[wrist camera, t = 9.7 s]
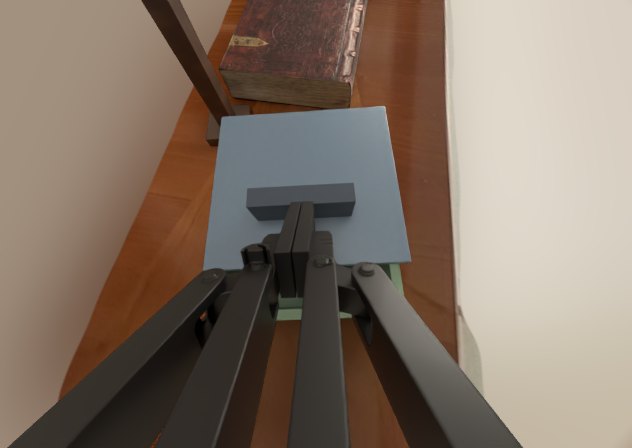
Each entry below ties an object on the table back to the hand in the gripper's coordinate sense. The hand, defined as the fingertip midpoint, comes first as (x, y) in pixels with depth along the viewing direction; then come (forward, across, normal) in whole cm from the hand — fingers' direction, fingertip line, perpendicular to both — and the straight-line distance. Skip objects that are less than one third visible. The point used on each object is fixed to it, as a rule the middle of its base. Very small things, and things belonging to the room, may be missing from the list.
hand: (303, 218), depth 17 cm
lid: (+6, 0, +1) cm, 6 cm away
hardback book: (+35, 0, +18) cm, 40 cm away
